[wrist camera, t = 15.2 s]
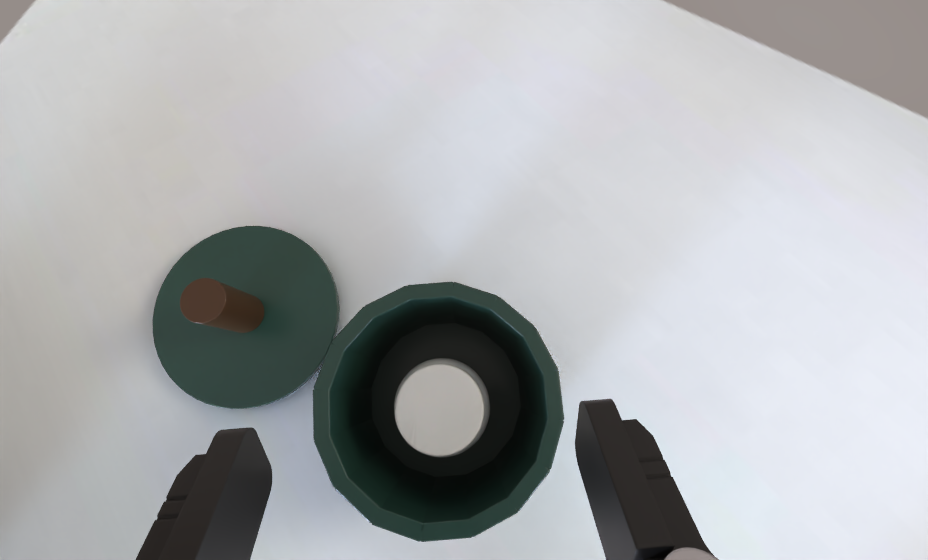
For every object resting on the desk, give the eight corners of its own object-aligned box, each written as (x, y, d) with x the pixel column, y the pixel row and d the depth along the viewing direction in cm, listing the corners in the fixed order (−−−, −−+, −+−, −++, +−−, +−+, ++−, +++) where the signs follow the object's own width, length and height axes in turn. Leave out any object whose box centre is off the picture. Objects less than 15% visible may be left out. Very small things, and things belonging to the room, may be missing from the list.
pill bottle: (500, 395, 29) (515, 400, 21) (452, 459, 29) (448, 490, 20) (440, 346, 30) (431, 333, 22) (391, 408, 29) (363, 418, 21)
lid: (158, 415, 30) (81, 423, 24) (167, 237, 32) (99, 204, 26) (344, 400, 30) (314, 405, 24) (339, 224, 32) (311, 189, 26)
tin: (364, 493, 29) (314, 551, 19) (359, 320, 31) (311, 291, 21) (538, 479, 29) (577, 529, 19) (521, 307, 31) (547, 274, 21)
